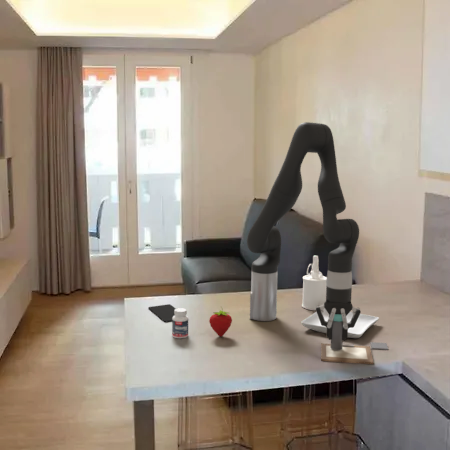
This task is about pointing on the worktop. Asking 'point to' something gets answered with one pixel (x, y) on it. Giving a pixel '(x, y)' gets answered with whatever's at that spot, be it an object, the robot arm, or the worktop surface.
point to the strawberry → (220, 322)
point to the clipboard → (347, 354)
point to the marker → (337, 332)
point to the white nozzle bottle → (314, 287)
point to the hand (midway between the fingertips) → (336, 339)
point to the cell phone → (163, 312)
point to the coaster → (379, 345)
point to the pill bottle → (180, 323)
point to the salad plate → (355, 332)
